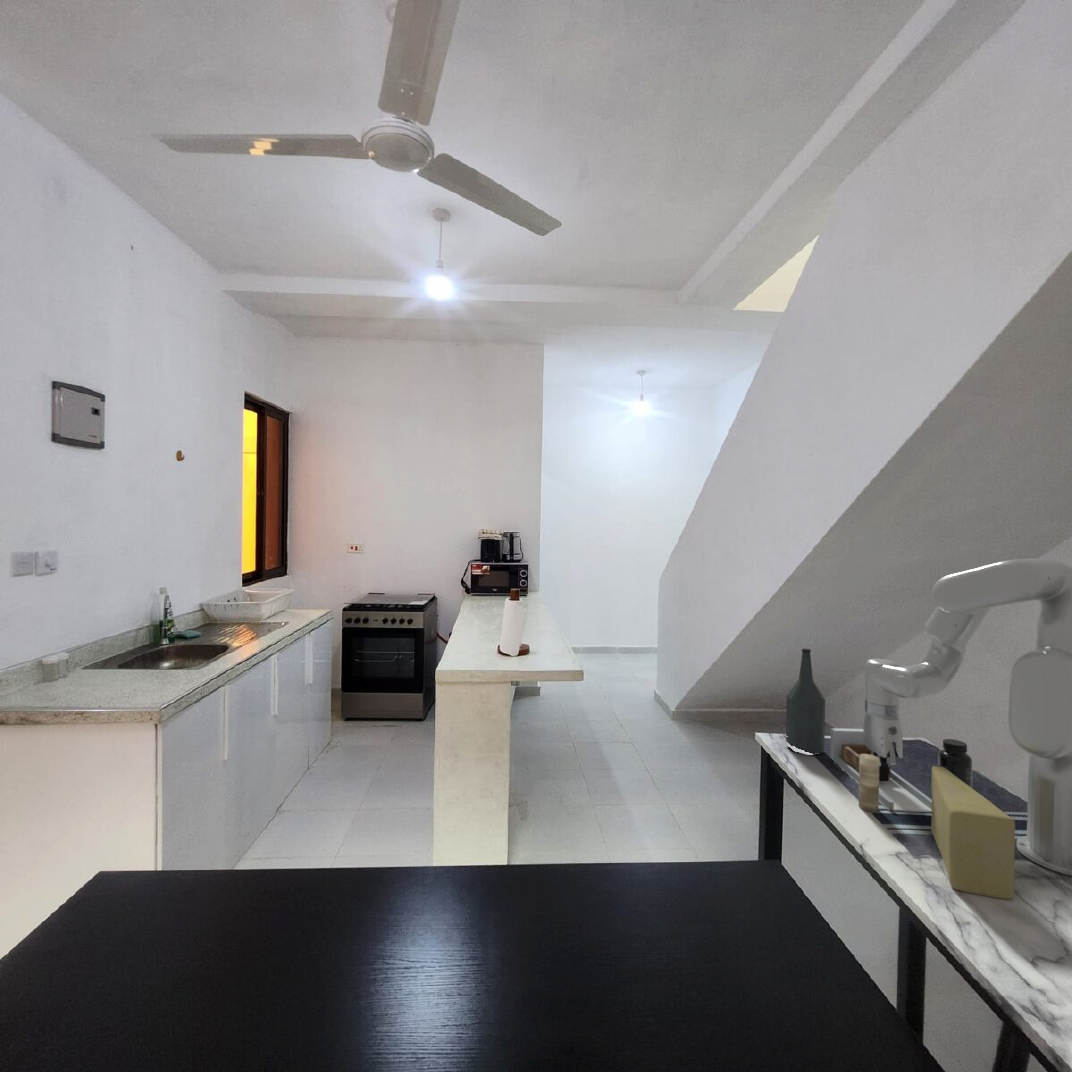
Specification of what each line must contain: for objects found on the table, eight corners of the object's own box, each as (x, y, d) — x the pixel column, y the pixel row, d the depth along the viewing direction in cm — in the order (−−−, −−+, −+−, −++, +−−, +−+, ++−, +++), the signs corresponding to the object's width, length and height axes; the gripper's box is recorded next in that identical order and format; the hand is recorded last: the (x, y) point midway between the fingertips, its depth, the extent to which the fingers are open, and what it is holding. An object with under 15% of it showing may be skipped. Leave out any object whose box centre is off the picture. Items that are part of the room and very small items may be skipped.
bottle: (830, 756, 156) (832, 653, 156) (796, 756, 156) (797, 652, 156) (813, 742, 167) (814, 645, 166) (780, 742, 167) (782, 644, 166)
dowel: (882, 812, 125) (883, 761, 125) (864, 812, 126) (865, 760, 125) (872, 803, 129) (873, 754, 129) (855, 803, 130) (856, 753, 129)
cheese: (908, 827, 120) (909, 759, 119) (961, 835, 116) (962, 766, 116) (950, 891, 98) (951, 809, 98) (1016, 902, 95) (1017, 818, 95)
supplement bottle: (959, 783, 140) (960, 737, 140) (978, 796, 133) (979, 748, 133) (931, 782, 141) (932, 736, 141) (948, 795, 134) (949, 747, 134)
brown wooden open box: (890, 778, 142) (890, 758, 141) (858, 777, 142) (859, 758, 142) (871, 763, 150) (871, 745, 150) (841, 762, 151) (841, 744, 151)
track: (937, 812, 126) (938, 773, 126) (888, 810, 126) (889, 772, 126) (870, 760, 154) (870, 729, 154) (830, 759, 154) (830, 728, 154)
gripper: (915, 719, 131) (914, 794, 131) (879, 699, 146) (878, 767, 146) (883, 718, 131) (882, 793, 132) (851, 698, 146) (849, 766, 147)
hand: (880, 779), depth 139 cm, fingers closed
